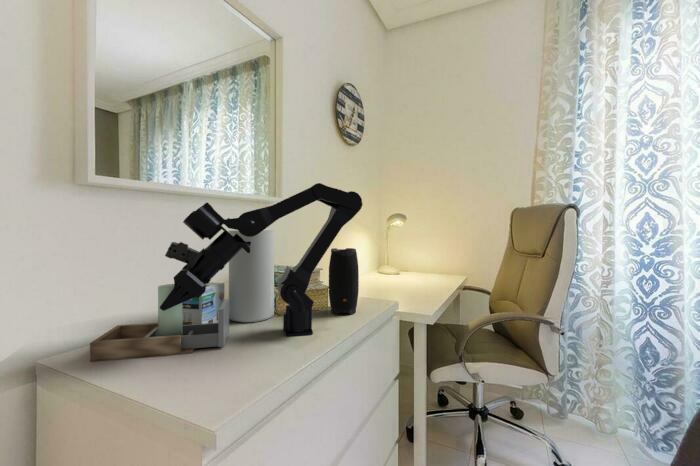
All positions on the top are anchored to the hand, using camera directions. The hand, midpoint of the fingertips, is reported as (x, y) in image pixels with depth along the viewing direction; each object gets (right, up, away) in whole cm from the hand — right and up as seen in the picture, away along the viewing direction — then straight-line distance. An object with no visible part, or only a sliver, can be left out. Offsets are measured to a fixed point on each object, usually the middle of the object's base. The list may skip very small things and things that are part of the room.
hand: (163, 306), depth 68 cm
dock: (-2, -9, 0) cm, 9 cm away
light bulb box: (+2, -9, +14) cm, 17 cm away
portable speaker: (+38, -9, +29) cm, 49 cm away
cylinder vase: (+12, -9, +23) cm, 27 cm away
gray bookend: (+5, -9, +2) cm, 10 cm away
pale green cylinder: (+1, -7, +1) cm, 7 cm away
